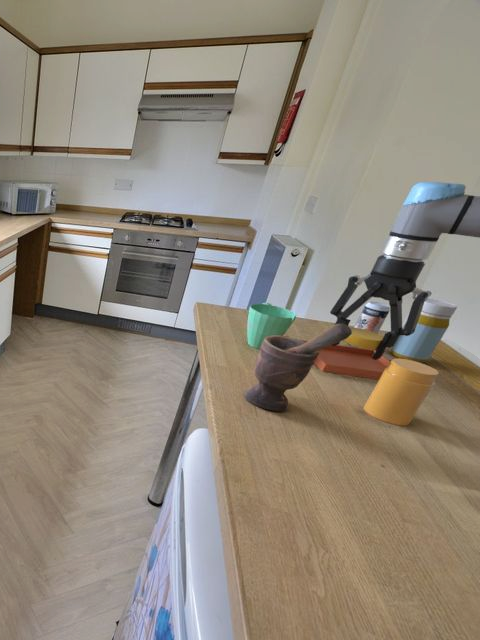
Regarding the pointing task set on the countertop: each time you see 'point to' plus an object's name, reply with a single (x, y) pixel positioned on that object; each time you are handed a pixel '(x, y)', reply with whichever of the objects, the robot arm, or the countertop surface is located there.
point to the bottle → (425, 332)
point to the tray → (351, 361)
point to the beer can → (372, 317)
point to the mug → (267, 322)
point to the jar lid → (364, 338)
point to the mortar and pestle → (287, 365)
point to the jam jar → (400, 391)
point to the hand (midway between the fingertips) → (355, 350)
